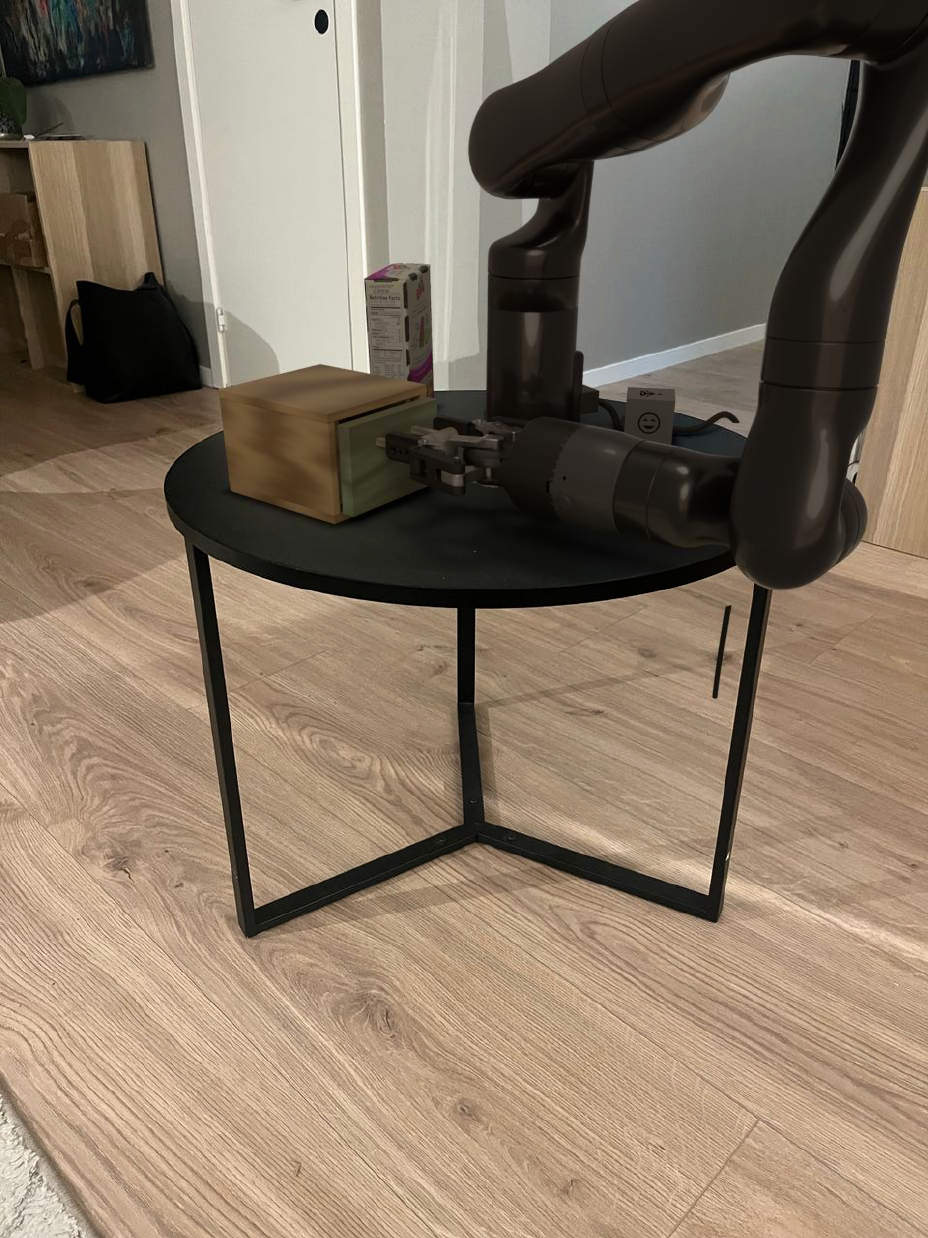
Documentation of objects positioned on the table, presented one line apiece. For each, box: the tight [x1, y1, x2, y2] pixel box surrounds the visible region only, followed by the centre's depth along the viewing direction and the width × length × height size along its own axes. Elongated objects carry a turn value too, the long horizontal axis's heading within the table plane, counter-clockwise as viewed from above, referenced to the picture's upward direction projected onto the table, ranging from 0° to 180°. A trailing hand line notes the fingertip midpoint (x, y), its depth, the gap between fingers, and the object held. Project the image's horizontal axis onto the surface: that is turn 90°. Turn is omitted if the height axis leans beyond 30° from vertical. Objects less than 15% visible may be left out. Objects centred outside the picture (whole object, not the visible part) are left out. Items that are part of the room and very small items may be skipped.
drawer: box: [334, 397, 458, 518], centre depth 85 cm, size 17×11×8 cm, turn 52°
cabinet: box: [218, 363, 427, 525], centre depth 87 cm, size 14×13×10 cm
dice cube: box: [624, 386, 676, 445], centre depth 102 cm, size 5×5×5 cm
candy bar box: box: [363, 262, 435, 398], centre depth 107 cm, size 11×5×16 cm, turn 168°
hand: (413, 435), depth 81 cm, fingers closed on drawer, 5 cm apart
